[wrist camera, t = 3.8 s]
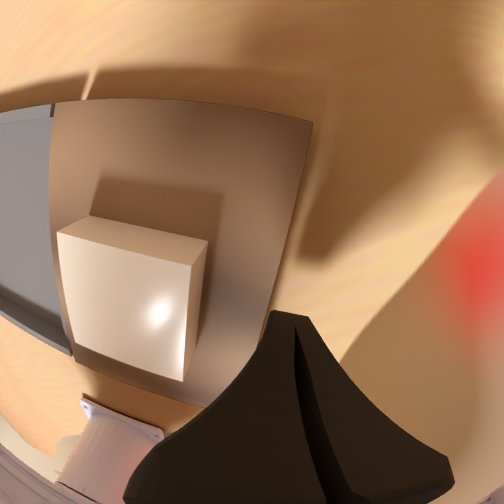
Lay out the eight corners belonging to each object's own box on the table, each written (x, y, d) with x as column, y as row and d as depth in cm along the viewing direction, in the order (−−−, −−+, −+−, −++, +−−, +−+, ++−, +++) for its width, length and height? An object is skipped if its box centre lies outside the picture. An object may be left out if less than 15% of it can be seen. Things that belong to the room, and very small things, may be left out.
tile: (195, 348, 11) (182, 381, 9) (97, 317, 11) (75, 342, 9) (208, 241, 9) (191, 266, 7) (88, 215, 9) (56, 231, 7)
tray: (84, 339, 15) (71, 356, 13) (-5, 292, 15) (-18, 302, 13) (76, 105, 9) (51, 103, 8) (-19, 120, 9) (-37, 123, 8)
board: (240, 388, 15) (236, 414, 13) (90, 342, 15) (75, 361, 13) (306, 126, 9) (313, 122, 7) (83, 104, 9) (55, 103, 8)
